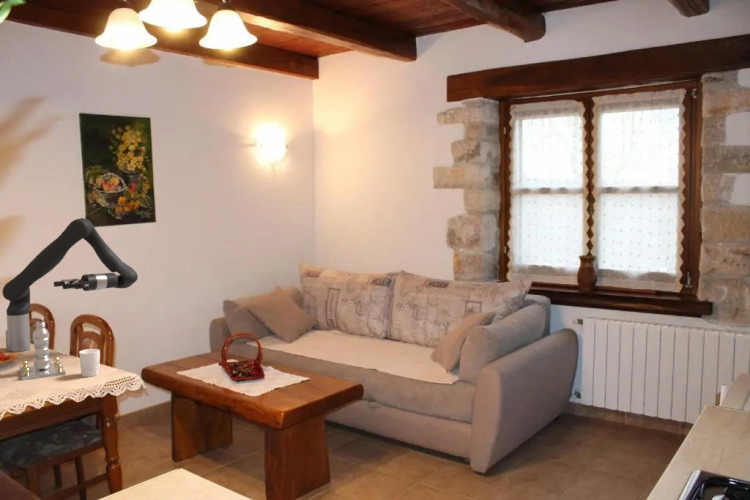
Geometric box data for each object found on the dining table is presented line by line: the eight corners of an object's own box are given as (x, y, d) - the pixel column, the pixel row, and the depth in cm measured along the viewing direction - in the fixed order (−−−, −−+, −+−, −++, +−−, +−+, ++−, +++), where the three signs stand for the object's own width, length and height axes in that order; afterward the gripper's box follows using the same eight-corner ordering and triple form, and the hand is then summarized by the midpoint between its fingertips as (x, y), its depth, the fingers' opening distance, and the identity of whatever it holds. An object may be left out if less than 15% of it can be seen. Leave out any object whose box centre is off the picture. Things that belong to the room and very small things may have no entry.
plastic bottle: (36, 372, 271) (34, 324, 269) (32, 368, 276) (30, 321, 274) (52, 369, 275) (51, 322, 273) (48, 365, 280) (46, 319, 278)
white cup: (91, 378, 268) (91, 354, 267) (75, 376, 270) (74, 352, 269) (104, 372, 275) (104, 349, 274) (88, 371, 278) (88, 348, 276)
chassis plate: (19, 370, 277) (19, 360, 277) (61, 365, 286) (60, 355, 285) (21, 380, 264) (21, 370, 263) (65, 374, 272) (65, 364, 272)
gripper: (86, 272, 304) (50, 275, 292) (101, 275, 295) (65, 278, 283) (86, 288, 305) (51, 291, 293) (102, 292, 296) (66, 296, 284)
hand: (58, 285), depth 288 cm, fingers open, 8 cm apart
